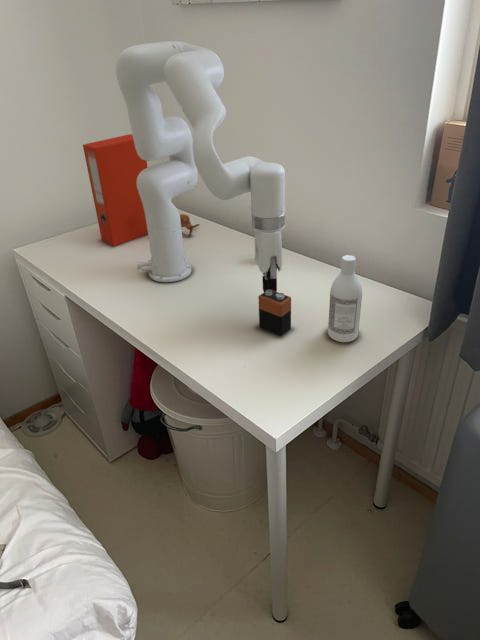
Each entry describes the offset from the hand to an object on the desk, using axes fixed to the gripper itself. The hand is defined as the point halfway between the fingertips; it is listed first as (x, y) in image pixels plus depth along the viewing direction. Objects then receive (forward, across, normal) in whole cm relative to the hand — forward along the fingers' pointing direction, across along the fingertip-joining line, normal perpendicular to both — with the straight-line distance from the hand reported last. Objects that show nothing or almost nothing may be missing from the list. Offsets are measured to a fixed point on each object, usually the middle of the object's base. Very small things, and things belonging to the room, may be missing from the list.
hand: (269, 291), depth 123 cm
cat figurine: (+7, -57, -19) cm, 60 cm away
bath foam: (+7, +12, +15) cm, 21 cm away
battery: (+7, +6, 0) cm, 10 cm away
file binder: (+7, -62, -37) cm, 72 cm away
